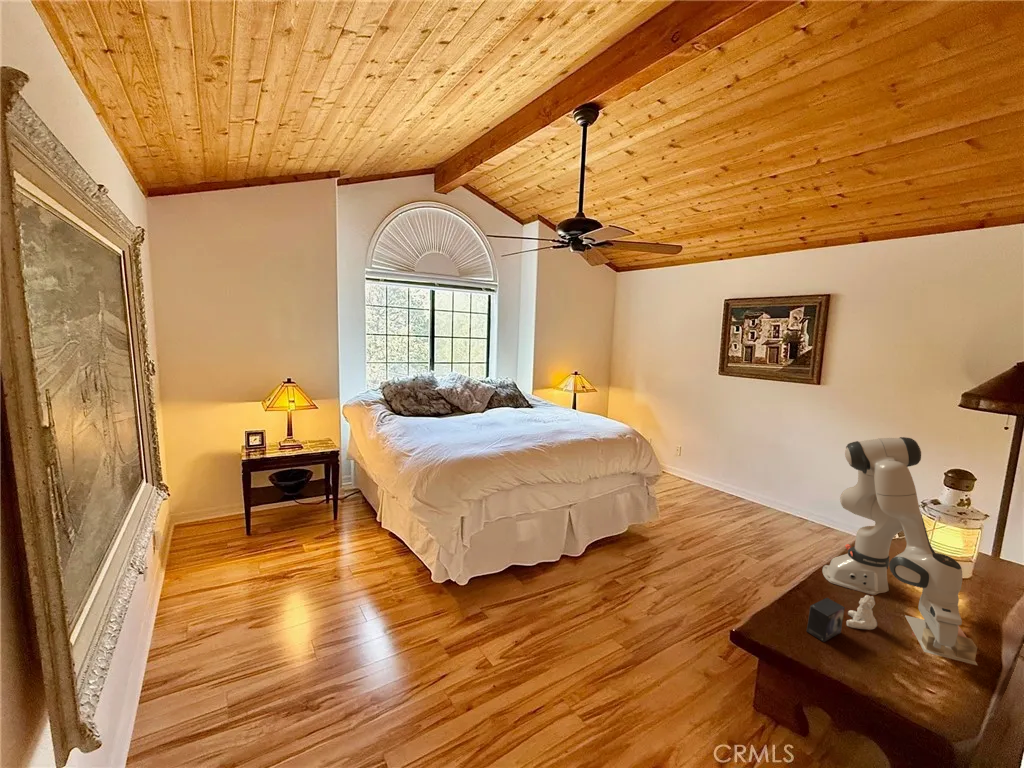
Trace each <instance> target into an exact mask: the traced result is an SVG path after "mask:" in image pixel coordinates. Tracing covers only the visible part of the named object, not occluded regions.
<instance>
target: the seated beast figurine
mask: <svg viewBox="0 0 1024 768" xmlns="http://www.w3.org/2000/svg"><path fill="white" fill-rule="evenodd" d="M858 604H859V606H858V607H857V608H856V610H857V611H856V610H851V609H850V610H848V611H847V615H848V616H849V617H851V618H852V619H847V620H846V621H845V622H846V626H847V627H849V628H852V629H860V630H869V631H871V630H875V629H876V628H877V626H878V622H877V619H876V618H875V616H874V614H873V612H874V611H873V608H874V606H875V605H876V601H875V597H874V595H871V596H870V594H866V595H864V597H860V600H859V601H858Z"/></svg>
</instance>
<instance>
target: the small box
mask: <svg viewBox="0 0 1024 768" xmlns="http://www.w3.org/2000/svg"><path fill="white" fill-rule="evenodd" d="M844 613H845V606H843V605H841V604H840V603H838V602H836V601H834V600H832V599H830V598H829V597H826V598H823V599H821V600H819V601H817V602H815V603H813V604H811V605H810V606H809V614H808V618H807V619H808V621H807V627H806V632H807V633H809V635H811V636H814V637H815V638H816V639H818V640H820V641H821V642H823V643H825V642H827V641H829V640H830V639H833V638H834V637H836V636H837V635H840V634H841V633H842V627H843V620H844Z"/></svg>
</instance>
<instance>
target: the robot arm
mask: <svg viewBox="0 0 1024 768" xmlns="http://www.w3.org/2000/svg"><path fill="white" fill-rule="evenodd" d="M844 456H845V460H846V461H847V463H848V464H849V466H850V467H851V468H853V469H855V470H857V473H858V474H857V476H858V477H857V483H856V484H855V485H853V486H851V487H847V488H846V489H844V490H843V491H842V493H841V495H840V496H839V497H840V498H839V500H840V505H841V507H842V508H843V509H844V510H846V511H848V512H849V513H852V514H853V515H856V516H859V517H862V518H865V519H868V520H871V521H873V522H874V525H867V526H862V527H860V528H858V529H857V531H856V535H855V542H854V546H852V545H851V544H849V543H847V544H845V546H844V547H845V549H846V550H847V553H845V554H842V555H838V556H836V557H833V558H832V559H831V561H830V562H829V564H825V565H823V566H822V570H821V571H822V574H823V577H824V578H825V579H826V581H828V582H829V583H831V584H834V585H836V586H840V587H843V588H846V589H850V590H854V591H858V592H861V593H865V594H867V595H871V596H877V595H878V594H881V593H883V594H884V593H887V592H889V590H890V589H889V588H890V587H889V583H888V568H889V571H890V573H891V574H892V576H893V577H894V578H896V579H897V580H898V581H900V582H901V583H904V584H906V585H909V586H913V587H917V588H920V589H921V588H922V592H921V595H920V597H919V601H918V604H917V605H918V611H919V612H920V615H921V616H922V619H923V620H924V621H925V628H928V629H930V630H931V631H932V633H933V635H934V636H935V640H933V643H932V644H933V646H934V647H935V648H939V649H940V648H941V645H944V646H948V647H953V646H954V645H955V643H956V639H957V635H958V625H959V626H962V622H963V620H962V617H961V613H960V610H959V602H960V598H959V593H960V591H961V589H962V583H963V567H962V566H961V564H960V563H959V561H957V560H956V559H954V558H953V557H951V556H949V555H946V554H942V553H939V552H936V551H935V550H934V548H933V547H932V545H931V543H930V542H931V541H930V539H929V535H928V531H927V529H926V525H925V521H924V518H923V515H922V513H921V509H920V505H919V499H918V496H917V490H916V485H915V481H914V480H913V477H912V474H911V472H910V470H909V467H912V466H916V465H919V463H920V462H921V459H922V450H921V447H920V445H919V444H918V442H917V441H916V440H915V439H914V438H912V437H906V436H903V437H902V436H901V437H880V438H879V437H878V438H875V439H874V438H873V439H867V440H861V441H858V440H856V441H852V442H849V443H848V444H847V445H846V446H845V452H844ZM901 532H903V534H904V539H905V542H906V546H905V549H904V550H903V551H902V552H901V553H898V554H897V555H895V556H894V557H892V558H891V559H890V556H889V555H890V554H889V553H890V549H891V544H892V542H893V539H894V537H895V536H897V534H899V533H901Z"/></svg>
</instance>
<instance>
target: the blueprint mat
mask: <svg viewBox="0 0 1024 768" xmlns="http://www.w3.org/2000/svg"><path fill="white" fill-rule="evenodd" d="M904 617H905V618H906V620H907V622H908V624H909V626H910V628H911V630H912V632H913V634H914V636H915V637H916V639H917V641H918V643H919V645H920V647H921V649H922V650H923V652H924V653H928V654H931V655H934V656H939V657H942V658H947V659H950V660H951V659H952V660H955V661H959V662H964V663H966V664H970V665H975V666H979V665H978V663H977V662H976V660H975V661H971V660H967V659H963V658H959V657H956V655H955V654H954V652H953V650H952V649H951V647H948V646H945V650H944V654H943V653H939V652H935V651H931V650H927V649H926V648H925V646H924V644H923V642H922V636H923V630H924V628H925V621H924V620H925V619H924V618H920V617H914V616H909V615H906V614H905V615H904Z"/></svg>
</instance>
